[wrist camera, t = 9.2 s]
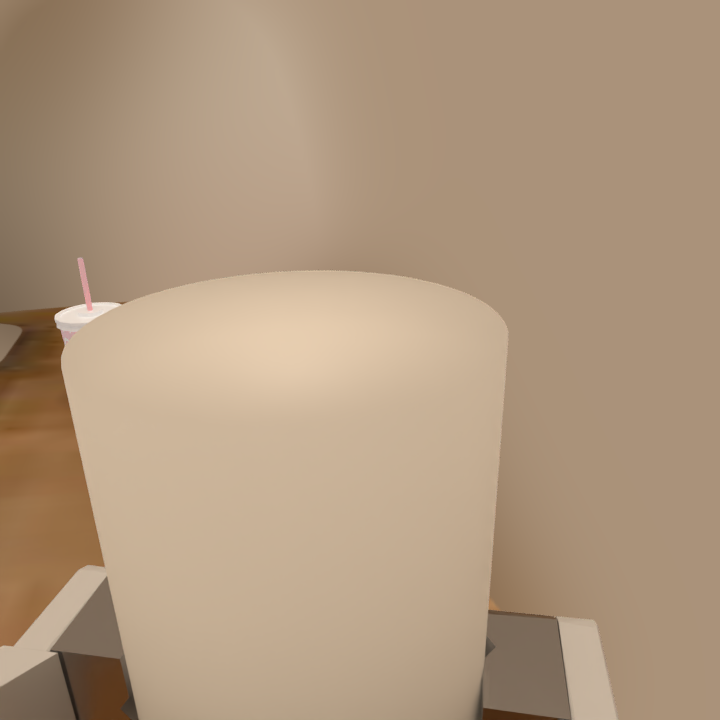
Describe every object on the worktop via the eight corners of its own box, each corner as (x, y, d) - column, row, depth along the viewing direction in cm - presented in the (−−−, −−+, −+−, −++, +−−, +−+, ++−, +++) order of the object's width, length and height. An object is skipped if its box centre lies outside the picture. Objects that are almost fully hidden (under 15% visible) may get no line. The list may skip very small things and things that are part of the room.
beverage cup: (80, 390, 64) (51, 252, 59) (143, 384, 65) (121, 248, 60) (67, 418, 58) (33, 269, 53) (136, 410, 60) (110, 264, 54)
